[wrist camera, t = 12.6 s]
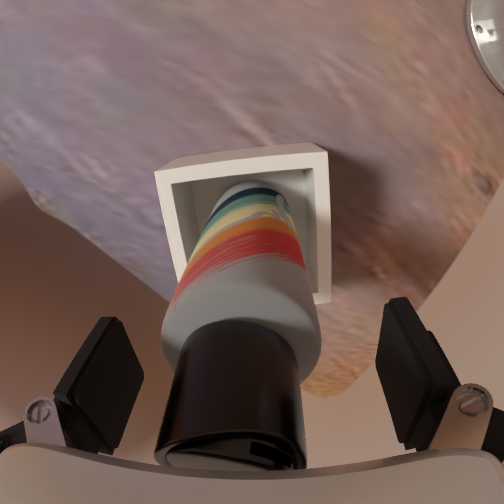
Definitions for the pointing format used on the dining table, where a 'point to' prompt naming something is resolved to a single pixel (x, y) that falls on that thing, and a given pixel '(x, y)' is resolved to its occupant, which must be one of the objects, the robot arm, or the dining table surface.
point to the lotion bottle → (240, 341)
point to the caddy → (252, 168)
